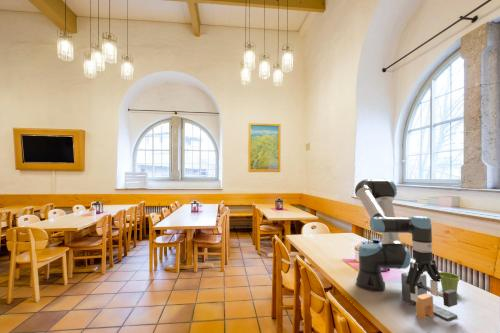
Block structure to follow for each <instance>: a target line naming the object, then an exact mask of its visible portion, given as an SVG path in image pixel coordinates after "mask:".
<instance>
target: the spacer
mask: <svg viewBox="0 0 500 333" xmlns="http://www.w3.org/2000/svg"><path fill="white" fill-rule="evenodd" d="M433 298H434V295H433V296H432V294H428V293H427V294H422V295H418V302H416V305H415V312H416V313H415V315H416V317H417V318H418V319H421V320H422V321H424V320H426V316H428V317H430V318H433V317H435V316H434V314H433V304H434V299H433Z"/></svg>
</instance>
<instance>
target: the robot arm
mask: <svg viewBox="0 0 500 333" xmlns="http://www.w3.org/2000/svg"><path fill="white" fill-rule="evenodd" d="M397 191H398V190H397V186H396V184H395V182H394V181H393V180H392V179H386V178H380V179H379V178H375V179H372V178H371V179H368V178H367V179H363V180H361V181H358V183H357V184H356V186H355V189H354V194H355V197H356V198H357V199H358V200H359V201H360V202H361V203H362V205H363V207H364V209H365V211H366V212H367V214H368V216H369V217H370V220H369V226H370V230H371V231H372V232H374V233H381V234H382V240H383V241H382V242H381V243H380V244H378V243H374V242H373V243H372V242H371V243H363V244H361V245H359V247H358V273H357V277H356V281H355V282H356V285H357V286H358V287H360V288H362V289H364V290H367V291H371V292H382V291H384V290H385V289H386V283H385V281H384V278H383V275H382V269H395V270H396V269H398V270H400V269H401V270H403V269H408V268H409V269H408V272H409V273H408V276H407V280H406V284H408V285H410V293H411V300H413V301H416V302H418V291H417V286H416V284H417V282H418V280H419V278H420V276H421V274H424V273H425V272H426V273H427V275H428V277H429V278H430V281H429V282H430V283H429V284H430V288H431V292H430V295H431V296H432V295H433V296H435V297H439V296H438V291H439V286H438V284H439V283H441V280H440V279H441V276H440V274H439V272H440V271H439V269H438V267H437V262H436V260H435V259H434V255H433V254H434V253H433V252H432V251H433V236H432V234H433V232H432V222H431V218H430V217H429V216H424V215H412V216H402V217H400V216H399V217H396V215H395V208H394V204H393V201H394V200H395V198H396V196H397V195H398V194H397V193H398V192H397ZM401 233H402V234H404V233H405V234H407V233H408V234H411V238H412V239H411V244H412V246H411V248H412V257H413V259H414V260H415V261H414V262H412V261H411V259H412V258H411V252H410V250H409V248H408V247H405V245H404V243H403V242H402V241H401V240H400V235H399V234H401Z"/></svg>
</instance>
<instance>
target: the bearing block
mask: <svg viewBox="0 0 500 333" xmlns="http://www.w3.org/2000/svg"><path fill="white" fill-rule="evenodd" d="M408 273H409V271H407V272H402V273H400V274H401V276H400V278H401V300H402V302H403V301H404V302H405V303H407V304H409V305H411V306H414V307H416V301H413V300H411V293H410V285H408V284H406V280H407V276H408ZM418 283H420V284H423V285H425V286H428V284H427V274H425V273H423V274H421V276H420V278H419V280H418V282H417V284H416V286H417V291H418V295H422V294H428V291H426V290H424V289H422V288H419V287H418ZM433 315H435V316H436V317H439V318H441V319H443V320H445V321H446V322H449V321H451V320H454V319H456V318H458V314H456V313H453V312H451V311H449V310H447V309H444V308H443V307H440V306H438V305H436V304H434V303H433Z"/></svg>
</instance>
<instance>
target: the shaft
mask: <svg viewBox="0 0 500 333" xmlns="http://www.w3.org/2000/svg"><path fill="white" fill-rule="evenodd" d="M418 287H419V288H422V289H424V290H426V291H427V292H429V293H431V286H430V287H429V286H428V285H427V286H425V285H423V284H420V283H418ZM442 291H443V290H442ZM442 291H440V290H438V296H437V297H441V298H443V306H444V307H447V308H451V307H454V306H457V305H458V293H457V292H458V290H457V291H455V290H453V289H450V290H447V291H443V292H442Z"/></svg>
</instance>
